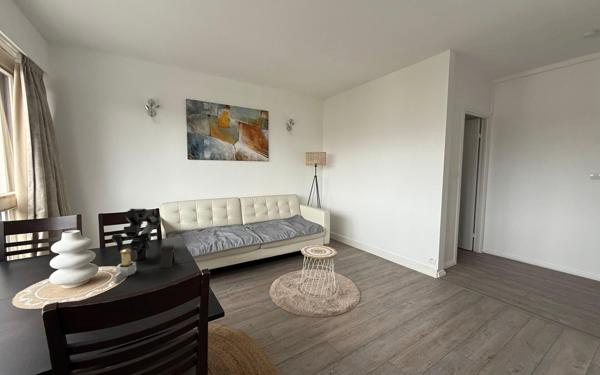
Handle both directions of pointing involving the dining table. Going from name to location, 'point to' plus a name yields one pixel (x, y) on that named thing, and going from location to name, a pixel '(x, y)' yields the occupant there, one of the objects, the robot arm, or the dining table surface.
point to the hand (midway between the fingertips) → (128, 251)
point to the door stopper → (167, 257)
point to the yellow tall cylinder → (126, 257)
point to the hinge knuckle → (124, 271)
